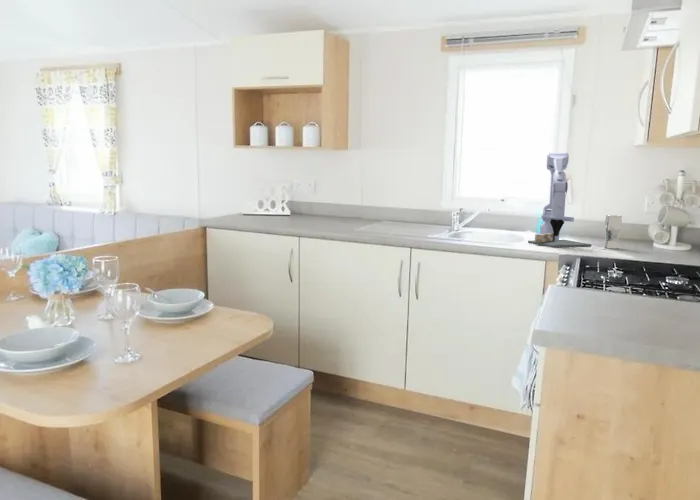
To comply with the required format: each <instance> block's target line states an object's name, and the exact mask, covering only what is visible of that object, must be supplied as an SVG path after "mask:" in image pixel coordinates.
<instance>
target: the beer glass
mask: <svg viewBox="0 0 700 500" xmlns="http://www.w3.org/2000/svg"><path fill="white" fill-rule="evenodd" d="M622 217H623V216H622V215H617V214H616V215H614V214H612V215H611V214H607V215H605V220H604V235H605V240H604V241H605V242H604V245H603V248H604V249H608V250H609V249H610V250H619V238H620V235H621V230H622V226H623V225H622V223H623V218H622Z"/></svg>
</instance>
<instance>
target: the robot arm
mask: <svg viewBox="0 0 700 500" xmlns="http://www.w3.org/2000/svg"><path fill="white" fill-rule="evenodd" d="M569 155H570V154H569V152H548V153H547V156H546V170H548V171H550V188H549V189H550V190H549V192H550V193H549V203H547V204H546V205H544V206H543V210H542V215H541V220H542V223H541V224H540V228H539V234H548V233H554V236H555V240H559V239H560V231H561V229H562V227H563V226H564V224H565V222H571V223H573V222H574V221H575V217H573V216H565V209H566V197H567V195H566V194H567V193H568V187H569V185H568V180H567V177H566V172H565V170H567V167H568V165H569V159H570V158H569Z"/></svg>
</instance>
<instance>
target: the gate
mask: <svg viewBox="0 0 700 500" xmlns="http://www.w3.org/2000/svg"><path fill="white" fill-rule="evenodd" d="M539 234H540V233H539ZM547 241H555V236H554V233H548V234H540V235H537V242H538V243H541V242H547Z"/></svg>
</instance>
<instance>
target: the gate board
mask: <svg viewBox="0 0 700 500" xmlns="http://www.w3.org/2000/svg"><path fill="white" fill-rule="evenodd" d="M537 235H540V233H535V234H534V240H528V241H527V243H528V244H532V243H533V245H537V244H538V245H537V246H543V247H547V248H553V249H556V248H582V247H583V248H585V247H592V244H591V243H585V242H580V241H575V240H574V241H573V240H569V239H568V240H567V239H562V240H555V241H547V242H541V243H538V242H537Z"/></svg>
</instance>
